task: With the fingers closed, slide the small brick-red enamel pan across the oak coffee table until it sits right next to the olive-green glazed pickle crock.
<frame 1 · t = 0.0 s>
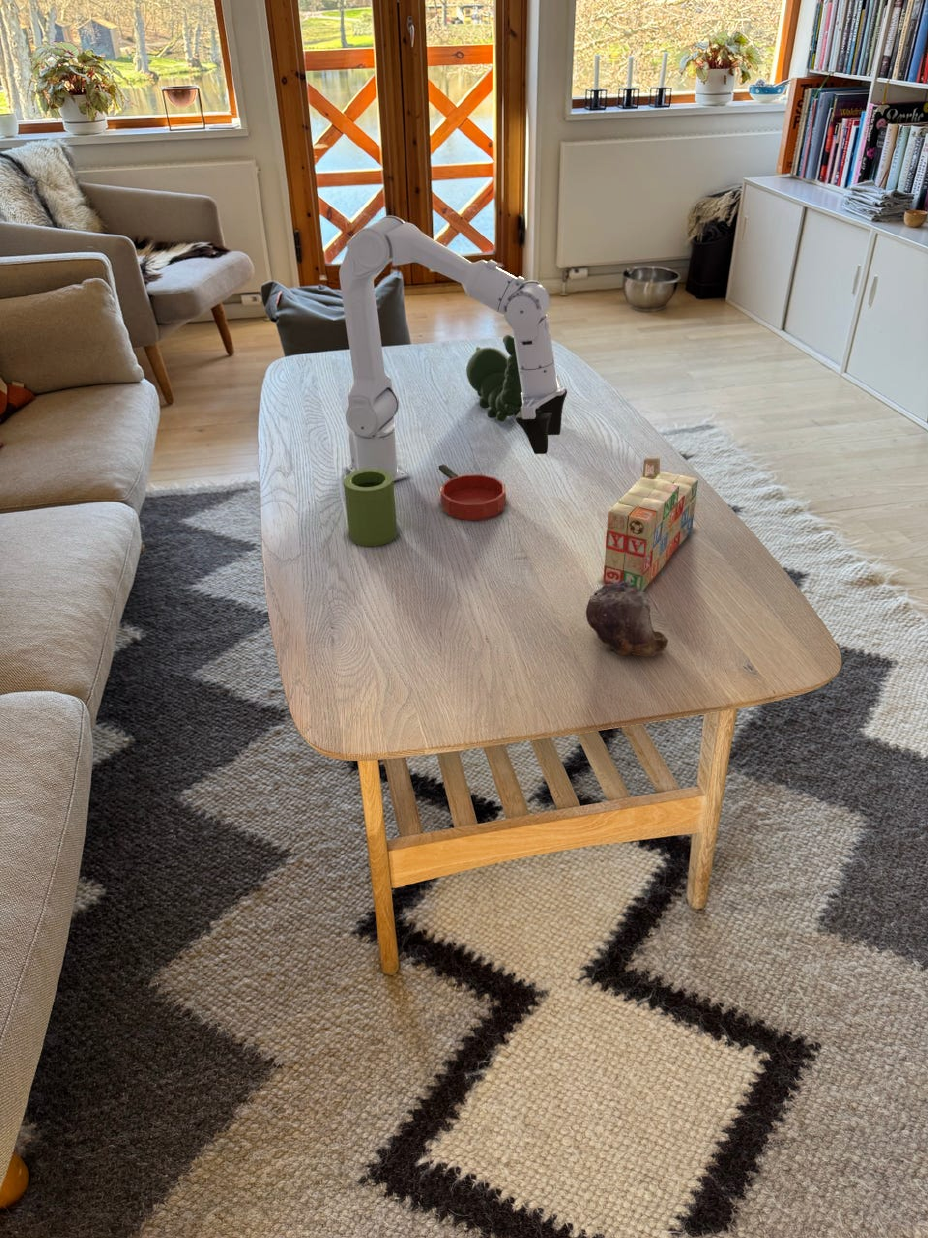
hand: (547, 443, 157), 11 cm above the table, tool pointing down, fingers open, 7 cm apart
stack of blocks: (649, 556, 147), on the table, touching tin
pan: (473, 504, 162), on the table
rock: (620, 644, 129), on the table
tin: (648, 515, 157), on the table, touching stack of blocks
crock: (373, 534, 155), on the table
toy figurine: (497, 410, 196), on the table
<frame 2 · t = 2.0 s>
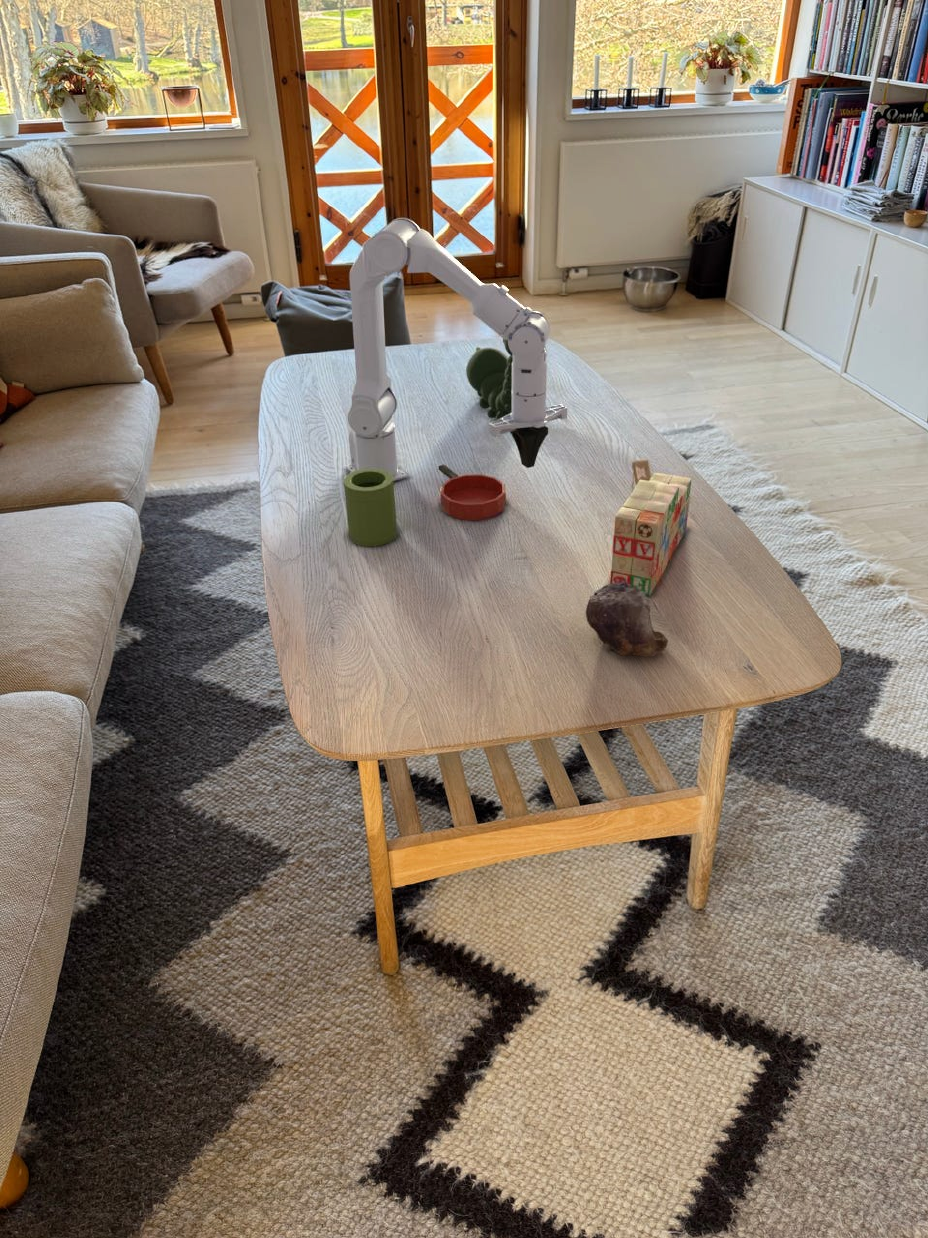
hand: (527, 465, 164), 5 cm above the table, tool pointing down, fingers closed
tin: (640, 517, 157), on the table, touching stack of blocks
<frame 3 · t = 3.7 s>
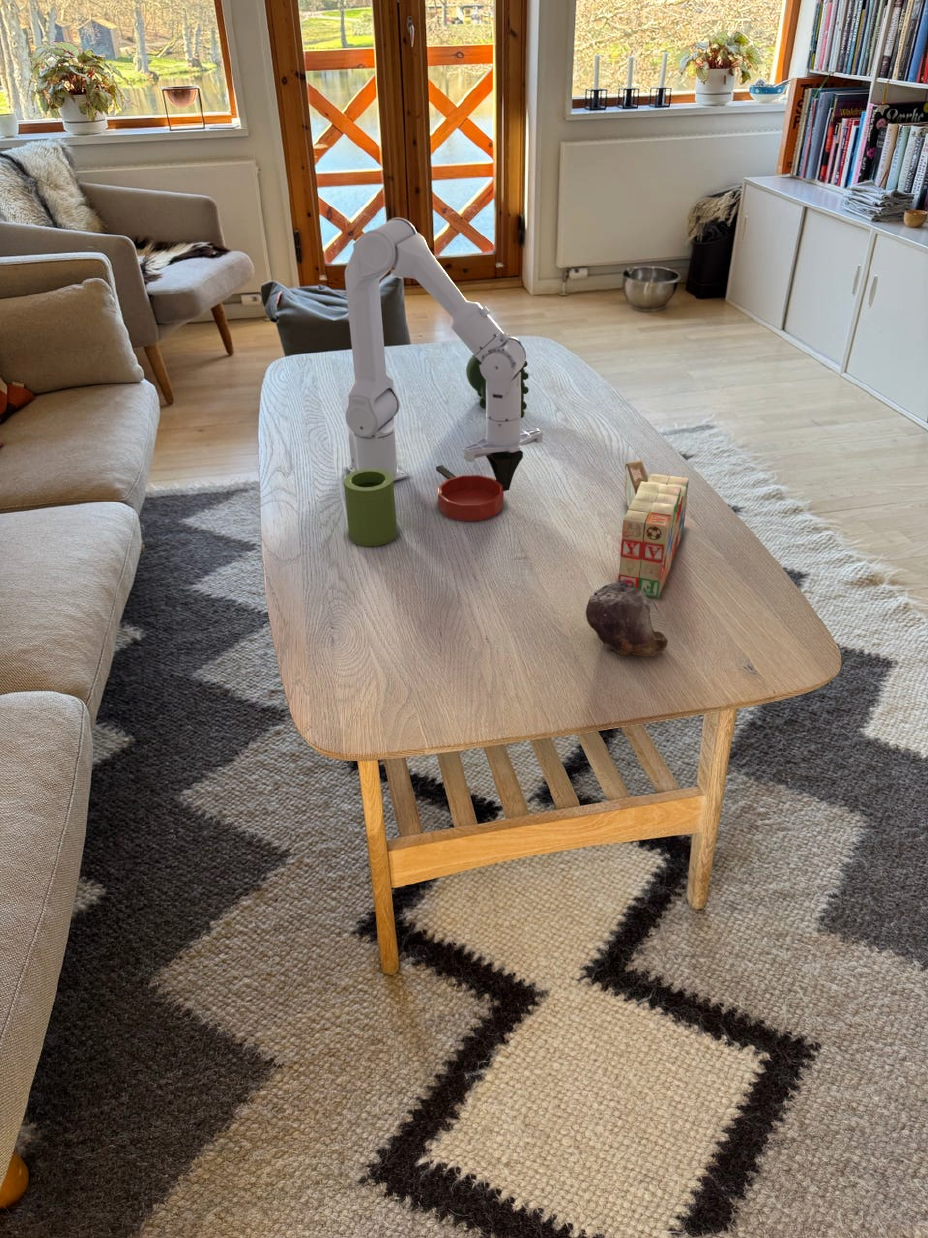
hand: (503, 488, 164), 1 cm above the table, tool pointing down, fingers closed
pan: (471, 505, 162), on the table, touching gripper
tin: (636, 519, 157), on the table, touching stack of blocks
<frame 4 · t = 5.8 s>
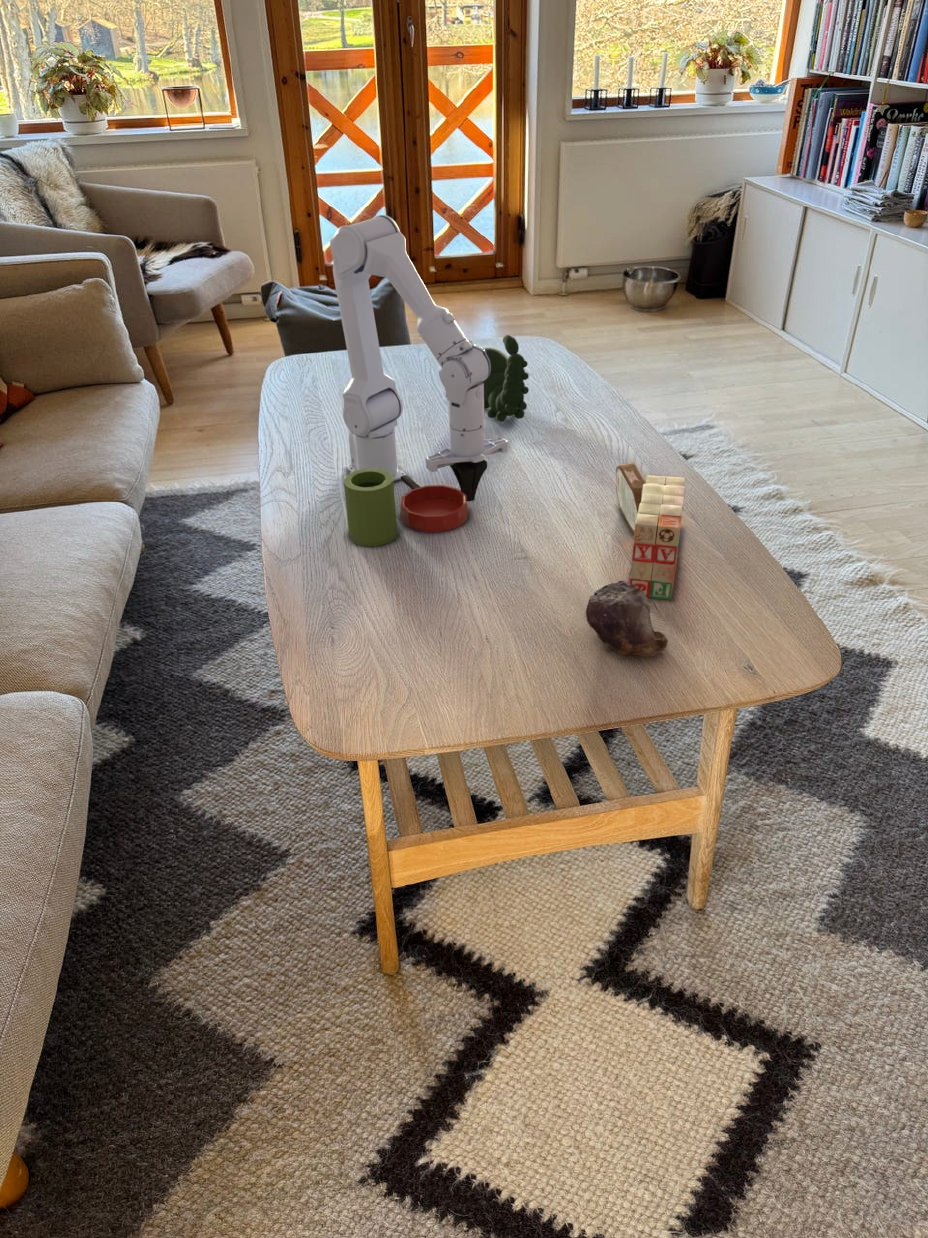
hand: (468, 498, 161), 1 cm above the table, tool pointing down, fingers closed
pan: (434, 516, 159), on the table, touching gripper
tin: (631, 521, 156), on the table, touching stack of blocks
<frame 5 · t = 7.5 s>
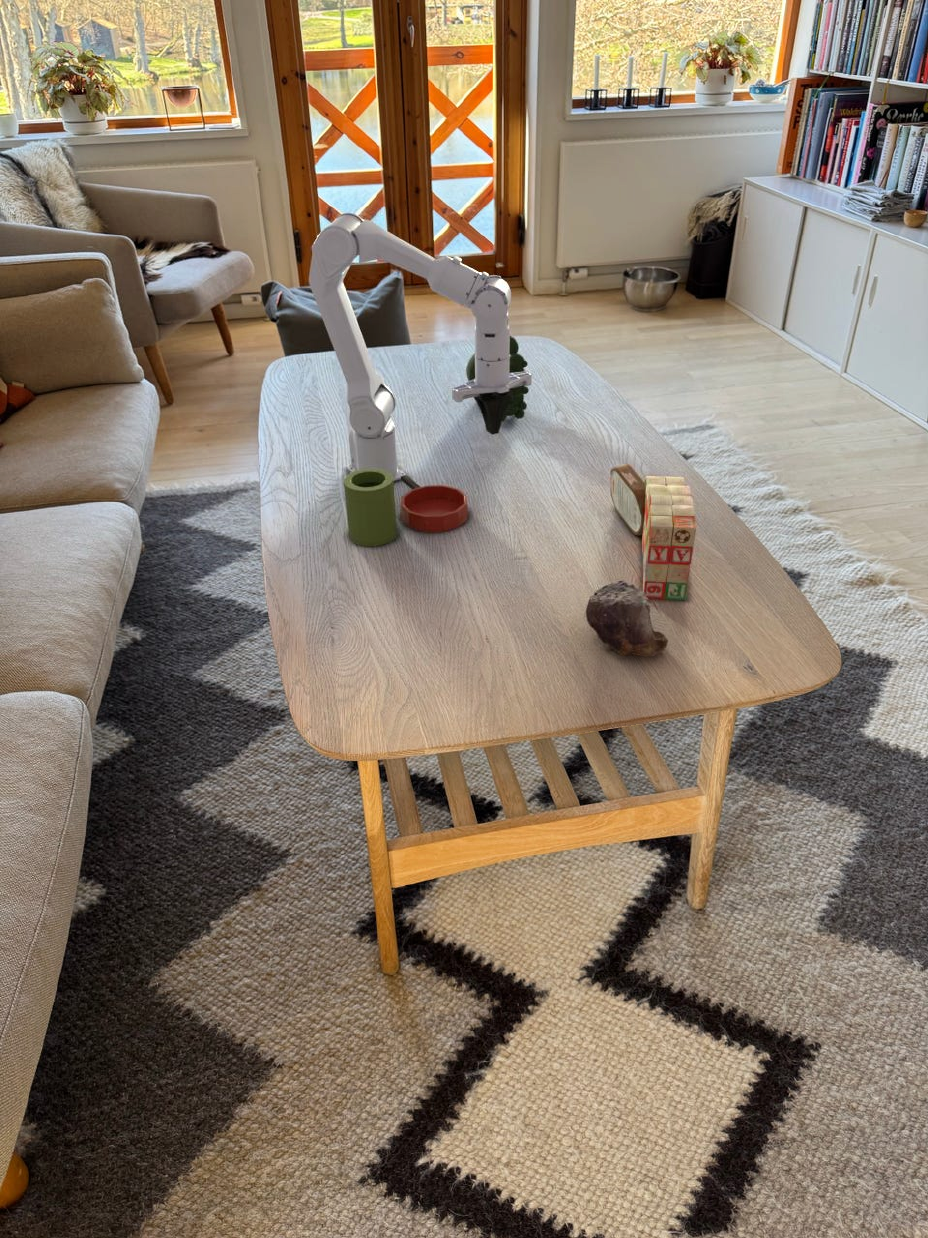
hand: (492, 431, 164), 9 cm above the table, tool pointing down, fingers closed
stack of blocks: (662, 562, 146), on the table, touching tin
pan: (434, 516, 159), on the table
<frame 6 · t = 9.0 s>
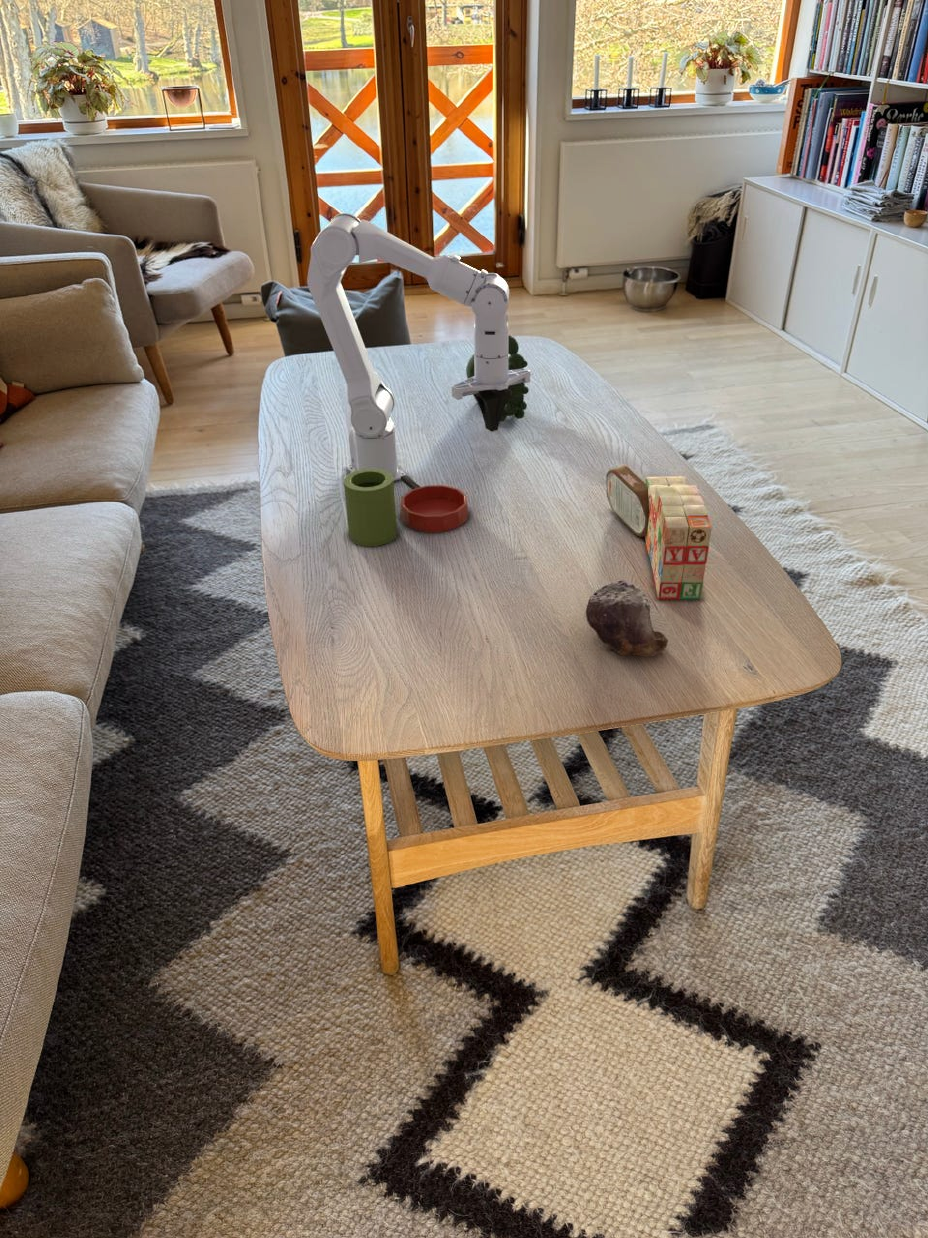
hand: (491, 428, 165), 9 cm above the table, tool pointing down, fingers closed
stack of blocks: (669, 562, 146), on the table, touching tin
at the end: pan 0.2 cm from the target spot on the table beside the crock, on the table; pan tilted 0°; pan moved 7.5 cm from its start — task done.
